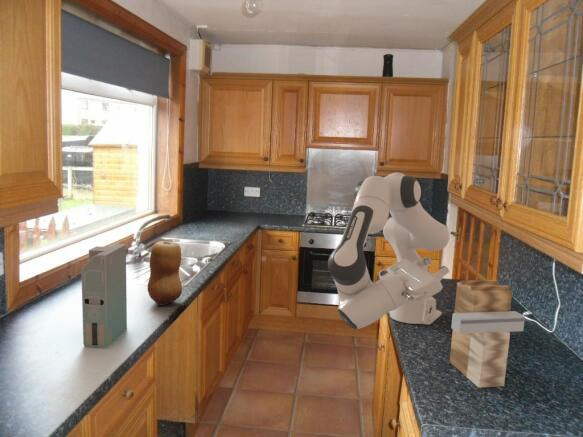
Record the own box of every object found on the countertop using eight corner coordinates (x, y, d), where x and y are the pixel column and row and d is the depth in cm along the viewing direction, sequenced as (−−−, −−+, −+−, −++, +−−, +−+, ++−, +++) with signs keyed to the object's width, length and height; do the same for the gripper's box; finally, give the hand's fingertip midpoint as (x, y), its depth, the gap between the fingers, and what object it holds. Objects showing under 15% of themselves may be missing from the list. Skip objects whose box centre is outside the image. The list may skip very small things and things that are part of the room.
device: (105, 327, 177) (103, 242, 172) (127, 328, 177) (126, 244, 172) (83, 346, 161) (80, 254, 156) (107, 348, 160) (105, 255, 155)
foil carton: (459, 334, 141) (460, 318, 140) (451, 328, 145) (452, 313, 145) (523, 331, 145) (524, 316, 145) (513, 325, 150) (515, 311, 149)
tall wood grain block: (478, 387, 145) (488, 296, 140) (449, 362, 160) (457, 279, 156) (516, 385, 147) (527, 294, 143) (483, 360, 163) (492, 278, 159)
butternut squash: (184, 307, 200) (184, 245, 196) (149, 310, 195) (148, 246, 191) (178, 296, 213) (178, 238, 209) (145, 299, 208) (144, 239, 204)
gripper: (407, 292, 127) (453, 264, 128) (376, 269, 146) (417, 245, 148) (417, 312, 128) (463, 284, 130) (385, 287, 148) (425, 263, 149)
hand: (438, 263), depth 139 cm, fingers open, 8 cm apart
